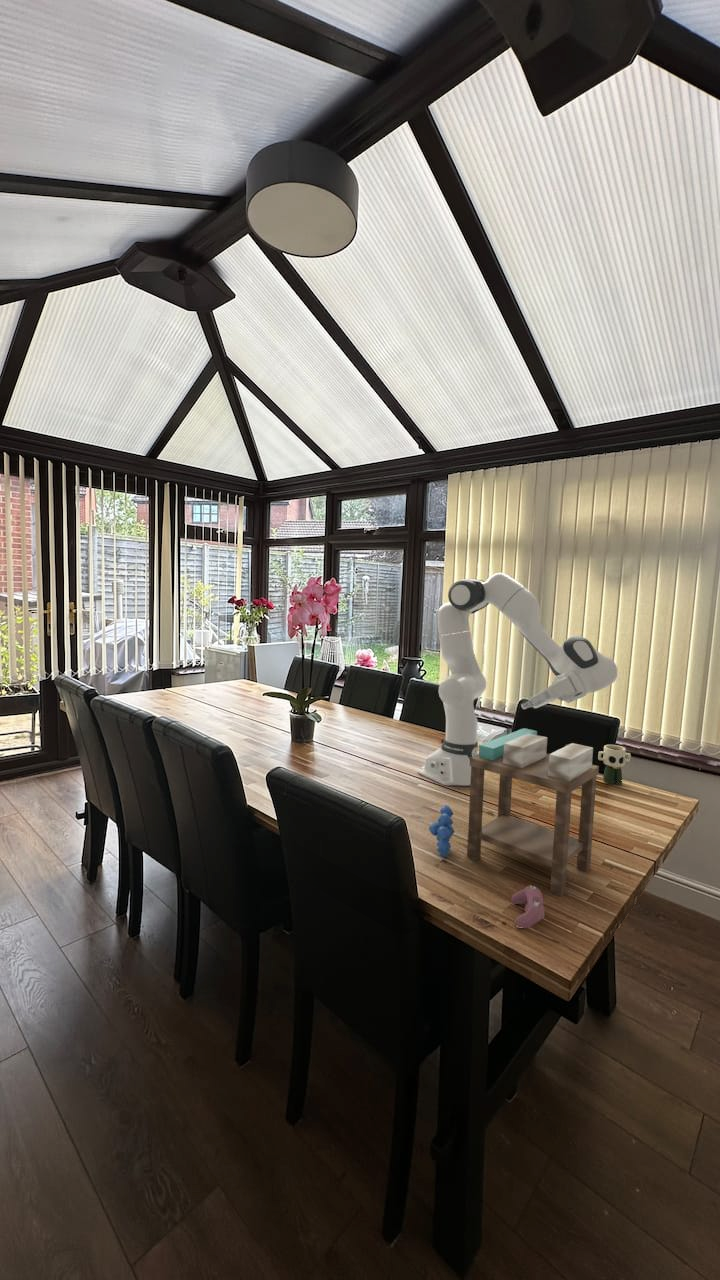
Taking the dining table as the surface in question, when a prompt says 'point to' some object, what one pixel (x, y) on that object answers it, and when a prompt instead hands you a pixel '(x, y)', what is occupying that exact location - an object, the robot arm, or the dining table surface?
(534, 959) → the dining table surface
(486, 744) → the module bar
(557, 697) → the robot arm
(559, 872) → the shelf
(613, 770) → the character mug
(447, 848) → the grapes
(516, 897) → the video game controller
